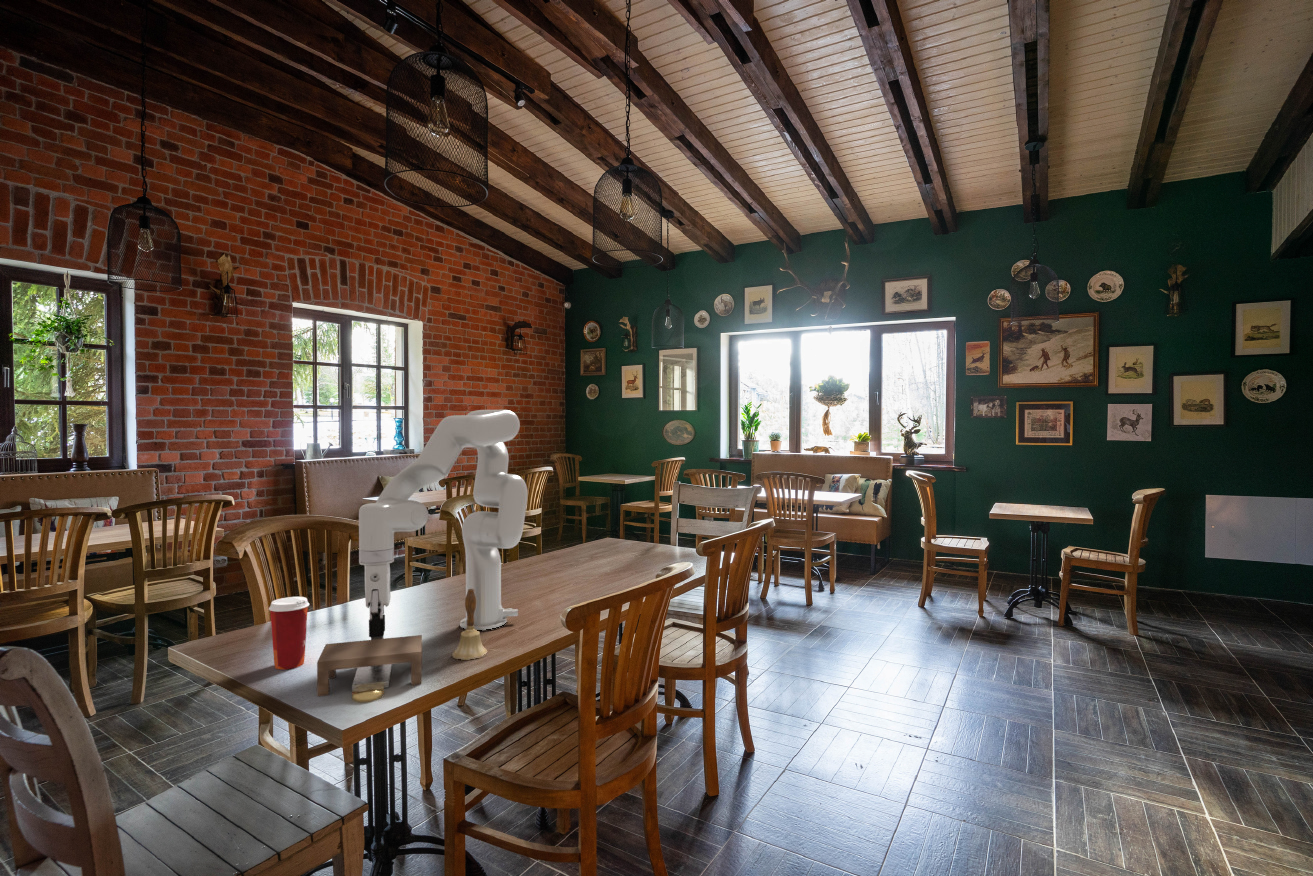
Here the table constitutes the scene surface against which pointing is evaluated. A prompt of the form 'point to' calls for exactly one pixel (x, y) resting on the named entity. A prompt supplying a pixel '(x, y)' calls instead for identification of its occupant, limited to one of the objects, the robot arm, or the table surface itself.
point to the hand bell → (469, 633)
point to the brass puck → (367, 693)
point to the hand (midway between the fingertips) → (377, 633)
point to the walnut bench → (368, 657)
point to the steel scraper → (373, 673)
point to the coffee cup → (289, 631)
